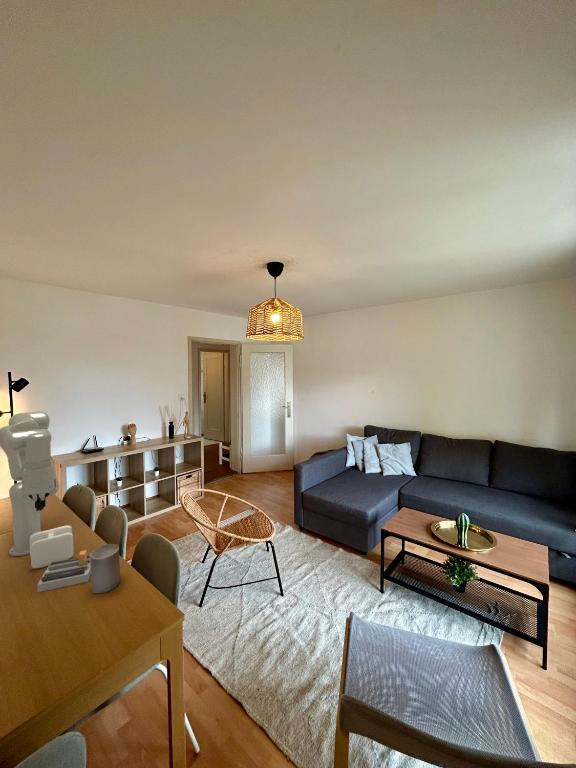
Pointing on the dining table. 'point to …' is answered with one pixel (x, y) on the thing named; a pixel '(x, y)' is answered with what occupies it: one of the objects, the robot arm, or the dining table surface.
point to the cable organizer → (51, 546)
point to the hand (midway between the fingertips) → (40, 509)
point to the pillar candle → (105, 568)
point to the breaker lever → (83, 558)
